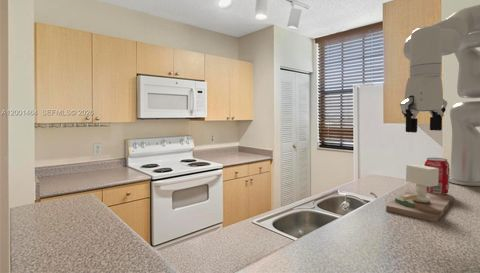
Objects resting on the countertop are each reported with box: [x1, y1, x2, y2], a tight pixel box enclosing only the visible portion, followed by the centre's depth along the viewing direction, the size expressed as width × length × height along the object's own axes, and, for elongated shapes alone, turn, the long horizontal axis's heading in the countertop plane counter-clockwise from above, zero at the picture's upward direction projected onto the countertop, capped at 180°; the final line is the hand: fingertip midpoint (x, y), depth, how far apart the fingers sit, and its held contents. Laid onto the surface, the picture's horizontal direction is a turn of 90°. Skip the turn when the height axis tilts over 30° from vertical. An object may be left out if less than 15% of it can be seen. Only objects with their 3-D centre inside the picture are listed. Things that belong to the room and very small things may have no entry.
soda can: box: [423, 157, 450, 196], centre depth 92 cm, size 7×7×12 cm
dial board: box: [385, 189, 454, 223], centre depth 80 cm, size 22×12×2 cm, turn 133°
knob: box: [403, 163, 439, 203], centre depth 79 cm, size 9×7×10 cm
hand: (423, 131), depth 78 cm, fingers open, 9 cm apart
